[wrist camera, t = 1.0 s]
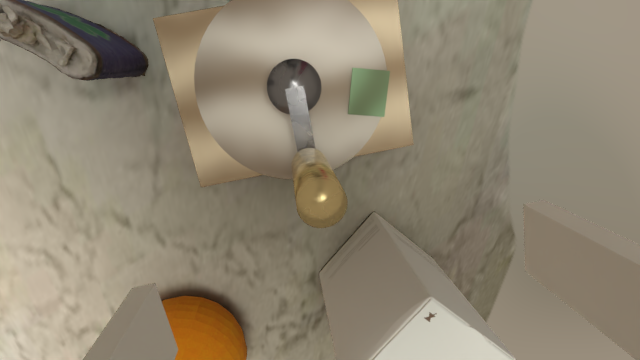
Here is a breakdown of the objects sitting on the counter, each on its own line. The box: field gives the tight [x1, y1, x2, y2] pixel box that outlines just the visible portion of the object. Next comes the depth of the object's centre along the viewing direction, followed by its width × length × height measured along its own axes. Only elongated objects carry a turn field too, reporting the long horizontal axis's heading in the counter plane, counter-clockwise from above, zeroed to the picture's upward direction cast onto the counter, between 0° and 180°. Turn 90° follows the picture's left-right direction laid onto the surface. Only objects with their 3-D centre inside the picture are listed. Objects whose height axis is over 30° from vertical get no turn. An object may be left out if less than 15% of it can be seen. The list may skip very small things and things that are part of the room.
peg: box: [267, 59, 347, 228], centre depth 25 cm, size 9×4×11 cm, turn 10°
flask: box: [0, 0, 148, 80], centre depth 26 cm, size 9×3×11 cm, turn 63°
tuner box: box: [153, 0, 413, 187], centre depth 31 cm, size 15×18×4 cm
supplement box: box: [319, 212, 516, 360], centre depth 32 cm, size 9×9×15 cm
